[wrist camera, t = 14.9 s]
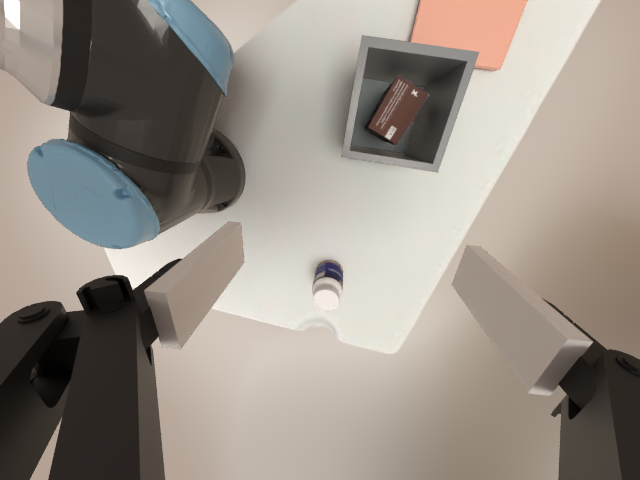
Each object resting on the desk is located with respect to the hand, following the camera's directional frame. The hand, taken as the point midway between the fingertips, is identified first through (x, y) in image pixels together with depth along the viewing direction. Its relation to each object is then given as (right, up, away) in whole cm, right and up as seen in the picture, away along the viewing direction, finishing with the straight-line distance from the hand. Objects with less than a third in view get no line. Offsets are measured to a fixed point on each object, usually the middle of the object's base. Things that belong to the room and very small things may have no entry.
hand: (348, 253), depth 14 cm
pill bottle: (0, -6, +36) cm, 37 cm away
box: (+8, +20, +23) cm, 32 cm away
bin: (+8, +20, +23) cm, 32 cm away
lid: (+18, +31, +16) cm, 39 cm away
